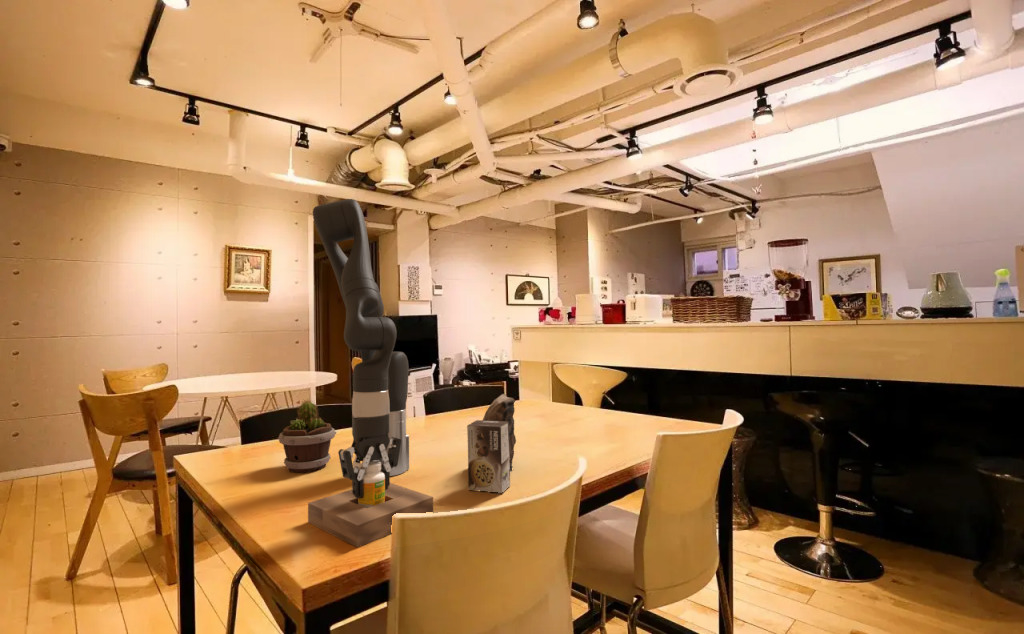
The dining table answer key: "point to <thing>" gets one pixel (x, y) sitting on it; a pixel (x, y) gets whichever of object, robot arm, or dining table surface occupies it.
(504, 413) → the owl
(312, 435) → the flowerpot
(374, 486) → the supplement bottle
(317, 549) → the dining table surface
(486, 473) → the coffee box
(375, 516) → the socket board
